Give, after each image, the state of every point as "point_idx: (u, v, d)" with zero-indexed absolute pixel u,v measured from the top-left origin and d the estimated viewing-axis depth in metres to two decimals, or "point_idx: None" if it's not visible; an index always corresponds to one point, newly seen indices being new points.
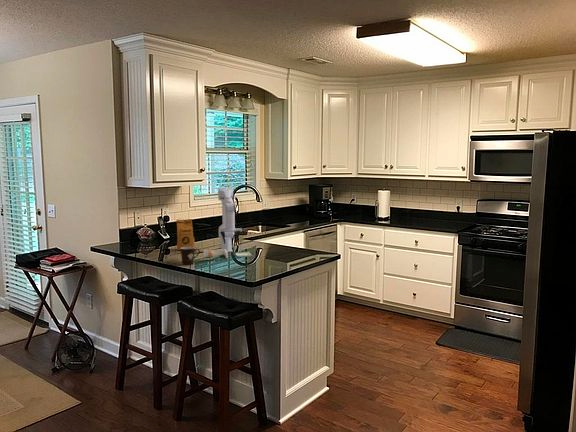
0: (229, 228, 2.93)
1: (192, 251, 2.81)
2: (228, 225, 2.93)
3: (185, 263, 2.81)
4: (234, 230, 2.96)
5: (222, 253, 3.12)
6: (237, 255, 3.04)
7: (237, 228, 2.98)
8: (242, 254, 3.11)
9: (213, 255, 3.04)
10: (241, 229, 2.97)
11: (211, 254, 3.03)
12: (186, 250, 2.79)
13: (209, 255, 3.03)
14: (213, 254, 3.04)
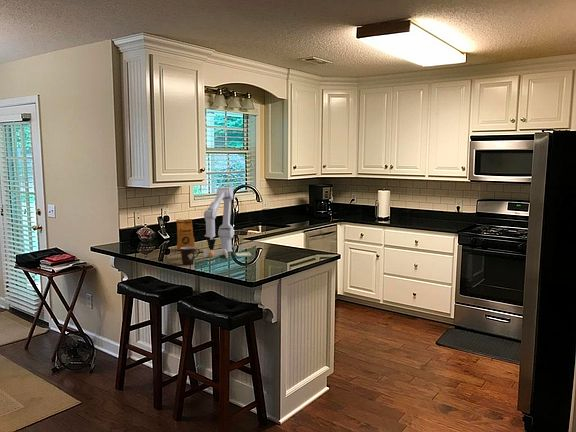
0: None
1: (192, 251, 2.81)
2: None
3: (185, 263, 2.81)
4: (209, 237, 3.01)
5: (222, 253, 3.12)
6: (237, 255, 3.04)
7: (212, 235, 2.99)
8: (242, 254, 3.11)
9: (213, 255, 3.04)
10: (209, 237, 2.96)
11: (211, 254, 3.03)
12: (186, 250, 2.79)
13: (209, 255, 3.03)
14: (213, 254, 3.04)
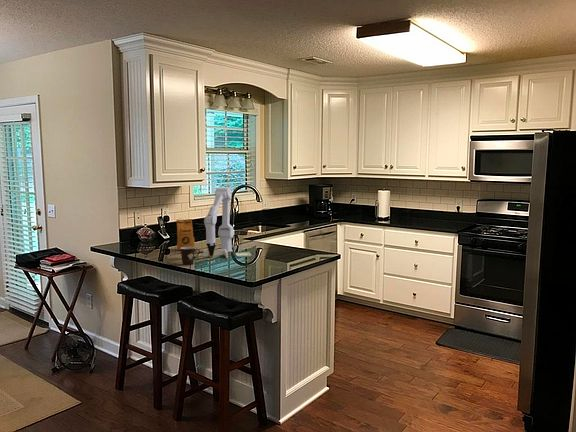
0: None
1: (192, 251, 2.81)
2: None
3: (185, 263, 2.81)
4: (209, 243, 3.01)
5: (222, 253, 3.12)
6: (237, 255, 3.04)
7: (212, 242, 2.99)
8: (242, 254, 3.11)
9: (213, 255, 3.04)
10: (210, 243, 2.97)
11: None
12: (186, 250, 2.79)
13: (209, 255, 3.03)
14: (213, 254, 3.04)
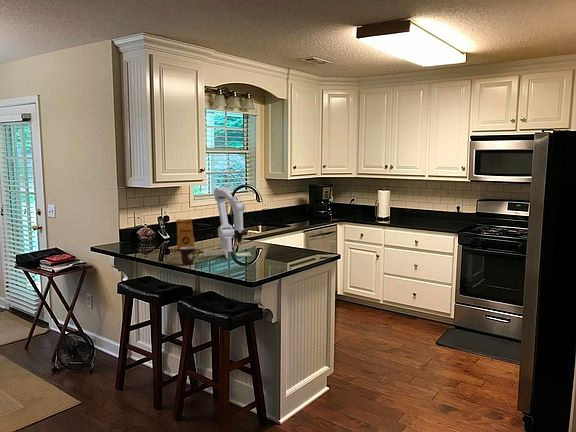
0: (234, 227, 3.07)
1: (192, 251, 2.81)
2: None
3: (185, 263, 2.81)
4: (237, 230, 3.05)
5: (222, 253, 3.12)
6: (237, 255, 3.04)
7: (240, 229, 3.03)
8: (242, 254, 3.11)
9: (241, 242, 3.07)
10: (238, 230, 3.00)
11: None
12: (186, 250, 2.79)
13: (237, 242, 3.07)
14: (241, 241, 3.07)
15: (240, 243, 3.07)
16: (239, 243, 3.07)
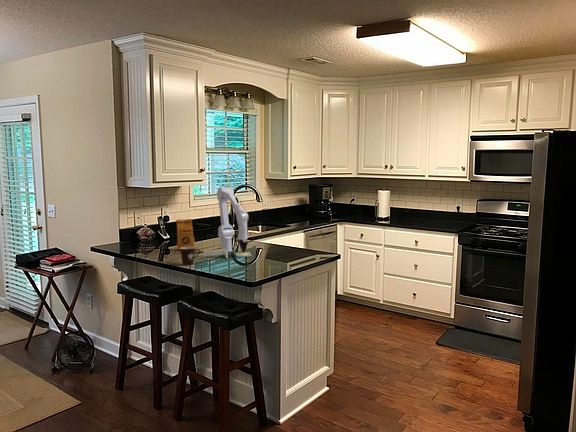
0: None
1: (192, 251, 2.81)
2: None
3: (185, 263, 2.81)
4: (241, 239, 3.06)
5: (222, 253, 3.12)
6: (237, 255, 3.04)
7: (245, 238, 3.04)
8: (242, 254, 3.11)
9: None
10: (243, 239, 3.02)
11: None
12: (186, 250, 2.79)
13: (241, 251, 3.08)
14: None
15: (244, 252, 3.09)
16: (243, 252, 3.08)
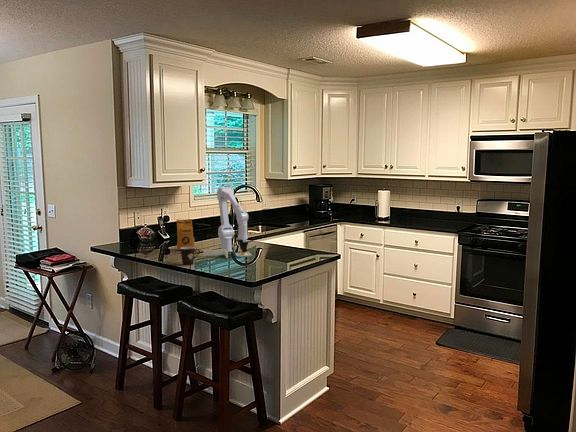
0: None
1: (192, 251, 2.81)
2: None
3: (185, 263, 2.81)
4: (241, 239, 3.06)
5: (222, 253, 3.12)
6: (237, 255, 3.04)
7: (245, 238, 3.04)
8: None
9: (245, 253, 3.09)
10: (243, 239, 3.02)
11: (243, 252, 3.08)
12: (186, 250, 2.79)
13: (241, 253, 3.08)
14: (245, 252, 3.09)
15: (244, 254, 3.09)
16: (243, 254, 3.08)
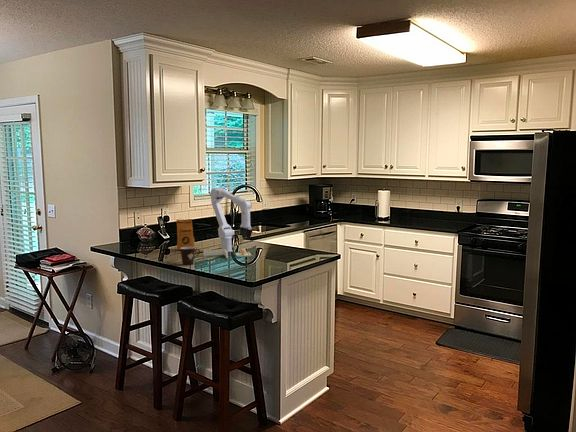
0: (241, 224, 3.13)
1: (192, 251, 2.81)
2: None
3: (185, 263, 2.81)
4: (245, 227, 3.11)
5: (222, 253, 3.12)
6: (237, 255, 3.04)
7: (249, 226, 3.10)
8: None
9: (245, 253, 3.09)
10: (248, 227, 3.07)
11: (243, 252, 3.08)
12: (186, 250, 2.79)
13: (241, 253, 3.08)
14: (245, 252, 3.09)
15: (244, 254, 3.09)
16: (243, 254, 3.08)
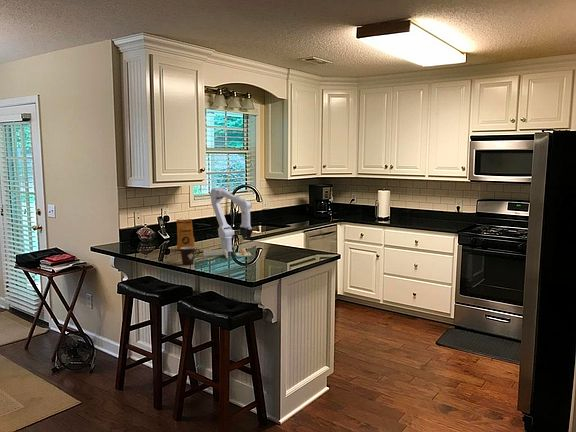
0: (241, 224, 3.13)
1: (192, 251, 2.81)
2: None
3: (185, 263, 2.81)
4: (245, 227, 3.11)
5: (222, 253, 3.12)
6: (237, 255, 3.04)
7: (249, 226, 3.10)
8: None
9: (245, 253, 3.09)
10: (248, 227, 3.07)
11: (243, 252, 3.08)
12: (186, 250, 2.79)
13: (241, 253, 3.08)
14: (245, 252, 3.09)
15: (244, 254, 3.09)
16: (243, 254, 3.08)
